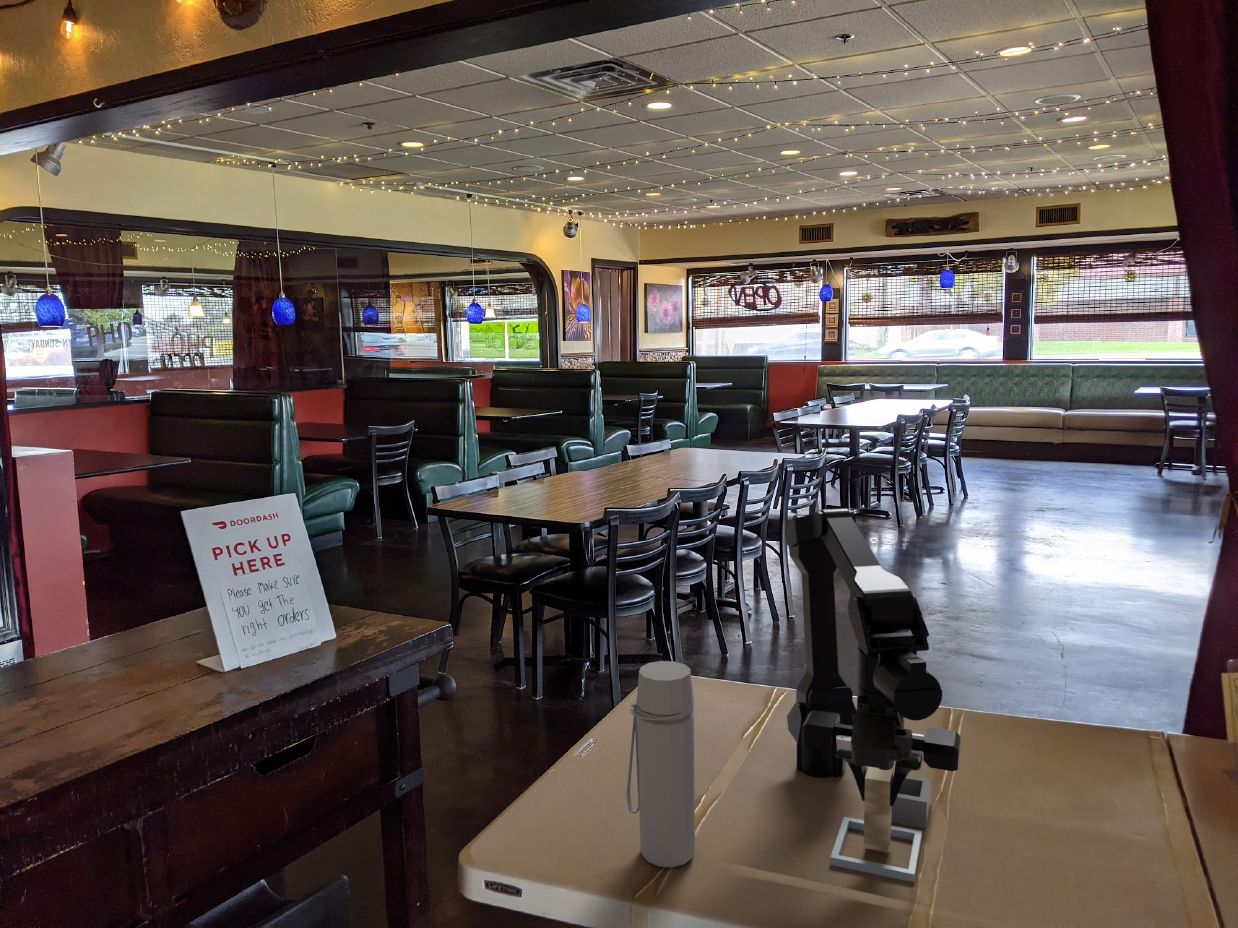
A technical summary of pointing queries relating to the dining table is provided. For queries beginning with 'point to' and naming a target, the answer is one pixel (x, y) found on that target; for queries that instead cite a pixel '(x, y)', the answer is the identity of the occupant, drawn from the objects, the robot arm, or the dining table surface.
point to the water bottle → (664, 763)
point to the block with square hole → (912, 802)
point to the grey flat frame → (872, 866)
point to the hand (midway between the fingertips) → (878, 802)
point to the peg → (877, 809)
